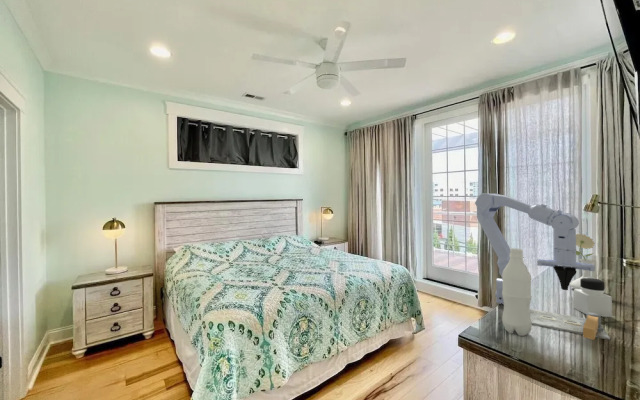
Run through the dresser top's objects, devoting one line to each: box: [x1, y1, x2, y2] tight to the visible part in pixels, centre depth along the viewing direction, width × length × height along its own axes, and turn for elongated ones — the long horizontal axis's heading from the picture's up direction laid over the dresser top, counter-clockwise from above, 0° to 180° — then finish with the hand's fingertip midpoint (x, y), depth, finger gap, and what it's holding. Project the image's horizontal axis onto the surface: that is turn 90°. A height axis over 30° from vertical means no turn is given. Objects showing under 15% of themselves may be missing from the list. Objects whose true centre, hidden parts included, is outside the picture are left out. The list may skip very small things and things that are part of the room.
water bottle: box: [501, 247, 532, 337], centre depth 83 cm, size 7×7×25 cm
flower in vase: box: [569, 233, 606, 293], centre depth 122 cm, size 13×11×25 cm
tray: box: [529, 308, 611, 341], centre depth 89 cm, size 18×14×1 cm
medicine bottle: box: [573, 277, 613, 318], centre depth 97 cm, size 7×7×12 cm
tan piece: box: [582, 312, 602, 341], centre depth 81 cm, size 16×3×3 cm, turn 131°
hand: (564, 289), depth 93 cm, fingers closed
